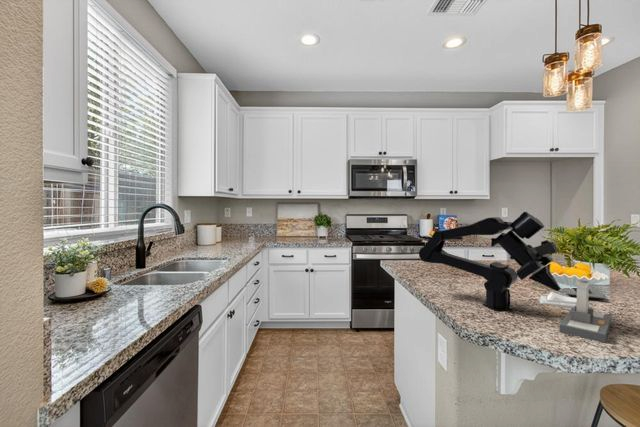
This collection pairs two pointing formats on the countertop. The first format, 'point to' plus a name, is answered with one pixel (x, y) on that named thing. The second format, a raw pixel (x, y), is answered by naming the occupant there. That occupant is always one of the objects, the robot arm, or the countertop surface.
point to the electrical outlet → (592, 293)
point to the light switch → (558, 300)
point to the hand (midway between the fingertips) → (559, 290)
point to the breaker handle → (582, 296)
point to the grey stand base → (587, 324)
